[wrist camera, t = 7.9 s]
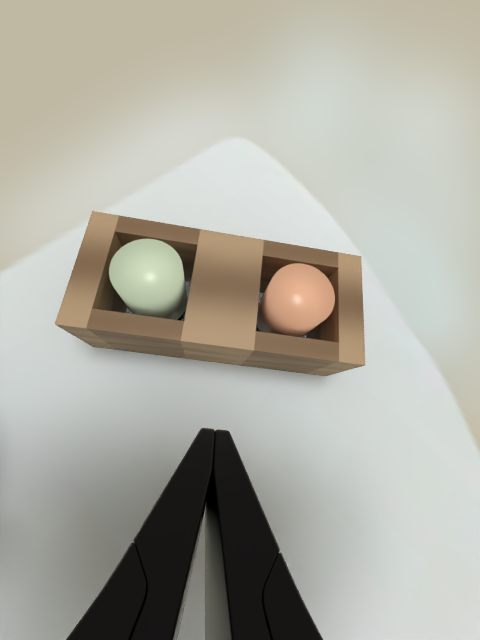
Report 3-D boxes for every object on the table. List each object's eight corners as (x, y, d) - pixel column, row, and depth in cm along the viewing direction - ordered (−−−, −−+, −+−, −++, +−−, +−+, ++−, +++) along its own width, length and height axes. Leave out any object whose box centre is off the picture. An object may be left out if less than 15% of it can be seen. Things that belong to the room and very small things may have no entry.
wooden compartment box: (326, 376, 24) (365, 365, 18) (92, 346, 22) (54, 324, 16) (326, 289, 26) (360, 256, 20) (117, 257, 24) (92, 211, 19)
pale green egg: (181, 330, 21) (176, 307, 17) (123, 322, 21) (100, 297, 16) (191, 279, 23) (188, 244, 18) (136, 270, 22) (118, 233, 18)
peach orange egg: (306, 347, 22) (335, 330, 18) (252, 340, 22) (266, 320, 17) (308, 297, 24) (334, 268, 19) (257, 289, 23) (271, 258, 19)
